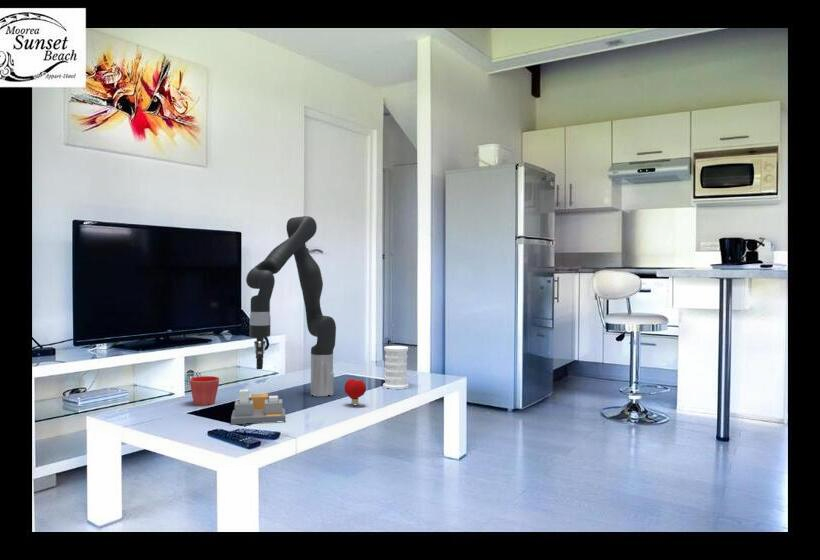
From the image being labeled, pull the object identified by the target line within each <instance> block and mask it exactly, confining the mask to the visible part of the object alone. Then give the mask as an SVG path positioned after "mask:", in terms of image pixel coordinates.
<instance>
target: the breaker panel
mask: <svg viewBox="0 0 820 560" xmlns="http://www.w3.org/2000/svg"><path fill="white" fill-rule="evenodd" d="M239 401H240V400H235V402H234V409H233V410H232V413H231V418H230V425H247V424H246V423H253V424H263V423H262V422H275V423H278V422H277V421H285V422H286V410H285V409H286V408H284V407H283V399H282V398H281V399H280V398H278V402H272V403H269V399H268V400H265V409H253V400H251V399H249V403H246V404H239Z"/></svg>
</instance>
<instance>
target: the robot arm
mask: <svg viewBox="0 0 820 560" xmlns="http://www.w3.org/2000/svg"><path fill="white" fill-rule="evenodd" d="M317 228H318V227H317V223H316V220H315V218H313V217H311V216H309V215H306V216H296V217H291V218H289V219H287V223H286V233H287V239H285V240H284V241H283V242H281V243H279V244H278V245H277V246H276V247H274V248H273V249H272V250H271V251H270V252H269V253H268V255H267V256H266V257H265V258H264V259H263V261H261V262H259V263H258V264H257V265H255V266H254V267H253V268H251V269H250V271H249V272H248V273H247V275H246V278H245V281H246V285H247V286H248V287H249V288H251V289H254V290H258V293H257V295H252V296H251V298H250V311H249V312H250V313H249V337H251V338H256V340H254V345H253V346H254V354H255V358H256V369H257V370H263V368H264V367H263V366H264V365H263V364H264V354H265V351H266V350H265V349H266V340H265V339H264V338H268V337H270V336H271V322H272V321H271V298H272V296H273V291H274V289H275V288H274V287H275V284H276V282H275V281H276V280H275V274H278V273H279V272H280V271H281V270H282V269H283V267H284V266H285V265H286V263H287V262H288V261H289V260H290V259H291V257H292V256H293V257H294V261H295V265H296V269H297V274H298V280H299V283H300V284H299V285H300V288H301V293H302V298H303V303H304V308H305V318H306V319H305V320H306V326H307V331H308V332H309V334H310V335H311V336H313V337H316V344H315V345H312V346H311V349H310V396H312V395H313V397H329V396H328V395H330V396H334V349H335V346H336V335H337V334H336V333H337V324H336V321H335V319H334V318H333V317H332V316H329V315H323V312H322V308H321V296H322V292H323V287H324V282H323V276H322V272H321V268H320V266H319V264H318V263H317V261H316V260H315V258H313V256H312V255H311V253H309V251H308V248H307V246H306V243H307V242H309V241H310V240H311V239H312V238H313V237H314V236H315V235H316V234H317V233H316V232H317Z"/></svg>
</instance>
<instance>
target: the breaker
mask: <svg viewBox="0 0 820 560" xmlns="http://www.w3.org/2000/svg"><path fill="white" fill-rule="evenodd" d="M249 391H250V389H239V400H238V401H239V404H246V403H249V400H250V399H249V398H250V397H249V396H250V393H249Z"/></svg>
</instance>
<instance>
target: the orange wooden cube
mask: <svg viewBox="0 0 820 560" xmlns="http://www.w3.org/2000/svg"><path fill="white" fill-rule="evenodd" d="M250 400H253V409H265V400H269V394H268V392H267V393H266V392H265V393H251V394H250Z"/></svg>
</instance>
